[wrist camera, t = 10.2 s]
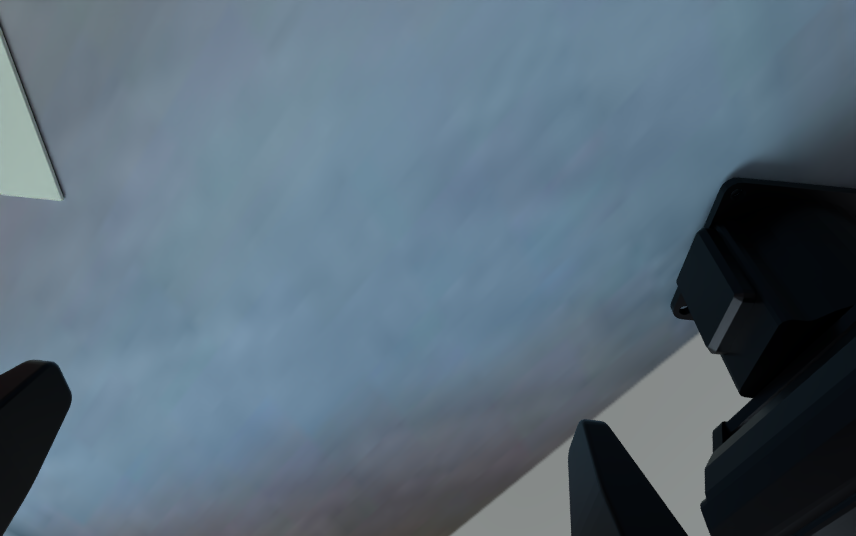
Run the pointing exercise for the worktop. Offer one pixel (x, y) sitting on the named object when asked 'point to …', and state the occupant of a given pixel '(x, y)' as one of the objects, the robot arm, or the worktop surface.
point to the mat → (21, 140)
